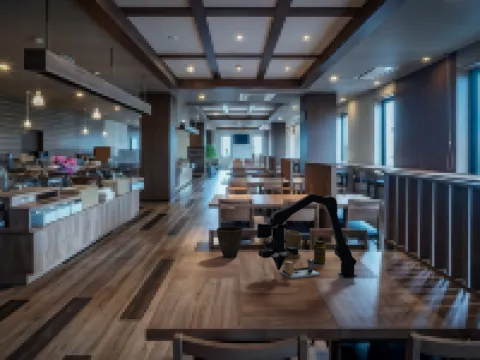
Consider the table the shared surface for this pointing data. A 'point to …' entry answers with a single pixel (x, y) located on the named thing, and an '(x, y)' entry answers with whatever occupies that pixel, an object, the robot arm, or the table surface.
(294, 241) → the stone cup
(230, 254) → the plant pot
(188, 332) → the table surface
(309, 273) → the plate
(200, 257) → the table surface
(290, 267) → the leg
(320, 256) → the condiment
